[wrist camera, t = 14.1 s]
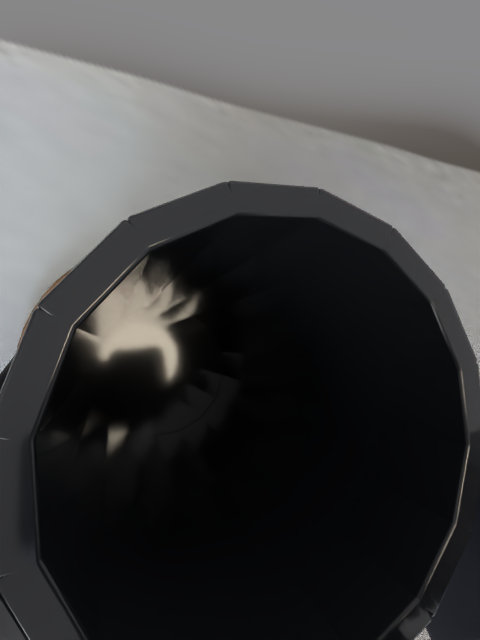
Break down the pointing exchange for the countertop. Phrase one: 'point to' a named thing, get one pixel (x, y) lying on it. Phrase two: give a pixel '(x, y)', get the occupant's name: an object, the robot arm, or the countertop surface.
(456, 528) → the grey metal tumbler
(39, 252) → the countertop surface
